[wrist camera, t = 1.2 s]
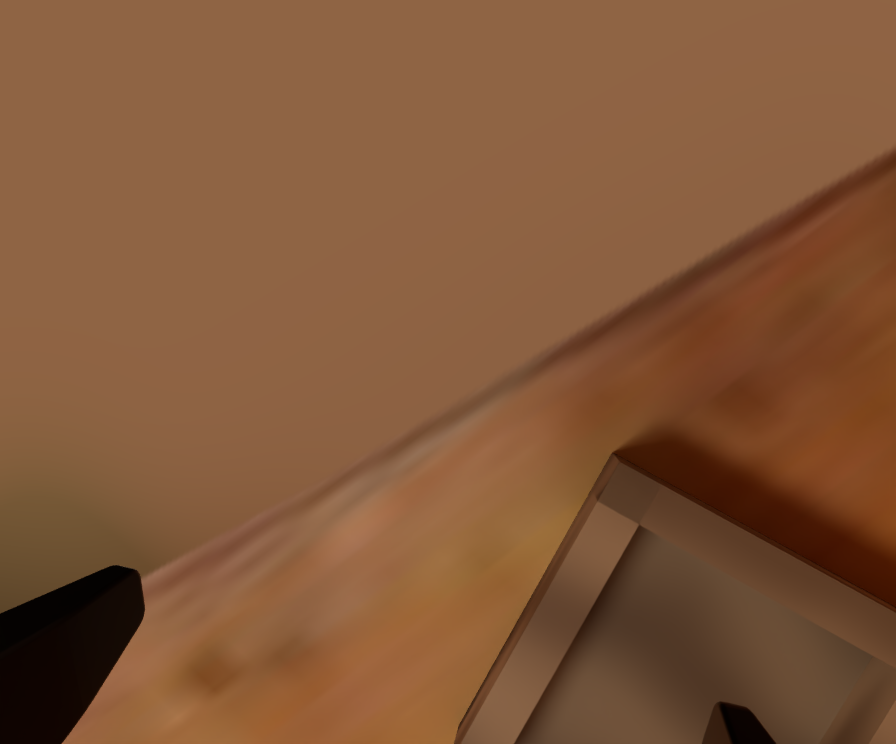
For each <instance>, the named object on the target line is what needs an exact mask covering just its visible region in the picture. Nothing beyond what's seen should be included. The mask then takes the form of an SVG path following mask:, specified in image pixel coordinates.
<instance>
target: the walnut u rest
mask: <svg viewBox="0 0 896 744" xmlns="http://www.w3.org/2000/svg"><path fill="white" fill-rule="evenodd" d="M719 701H723V702H728V703H732V704H737V705H741V706H745V707H747V708H748V709H750V710H751V711H752V712H753V713H754V715H755V716H756V717H757V719H758V720H759V721H760V723H761V724H762V725H763V726H764V728H765V729H766V730H767V732H768V733H769V734H770V736H771V737H772V738H773V740H774V741H775V742H776V743H777V744H896V607H894V606H893V605H891V604H889V603H887V602H885V601H883V600H882V599H880V598H878V597H876V596H874V595H872V594H871V593H869V592H867V591H865V590H863V589H861V588H860V587H858V586H856V585H854V584H852V583H850V582H849V581H847V580H845V579H843V578H841V577H839V576H838V575H836V574H834V573H832V572H830V571H828V570H827V569H825V568H823V567H821V566H819V565H817V564H816V563H814V562H812V561H810V560H808V559H806V558H805V557H803V556H801V555H799V554H797V553H795V552H794V551H792V550H790V549H788V548H786V547H784V546H783V545H781V544H779V543H777V542H775V541H773V540H772V539H770V538H768V537H766V536H764V535H762V534H761V533H759V532H757V531H755V530H753V529H751V528H750V527H748V526H746V525H744V524H742V523H740V522H739V521H737V520H735V519H733V518H731V517H729V516H728V515H726V514H724V513H722V512H720V511H718V510H717V509H715V508H713V507H711V506H709V505H707V504H706V503H704V502H702V501H700V500H698V499H696V498H695V497H693V496H691V495H689V494H687V493H686V492H684V491H682V490H680V489H678V488H676V487H675V486H673V485H671V484H669V483H667V482H665V481H664V480H662V479H660V478H658V477H656V476H654V475H653V474H651V473H649V472H647V471H645V470H643V469H642V468H640V467H638V466H636V465H634V464H632V463H631V462H629V461H627V460H625V459H623V458H621V457H620V456H618V455H616V454H614V453H612V454H611V456H610V457H609V459H608V461H607V463H606V464H605V466H604V468H603V470H602V472H601V473H600V475H599V477H598V479H597V481H596V482H595V484H594V486H593V488H592V489H591V491H590V493H589V495H588V497H587V498H586V500H585V502H584V504H583V505H582V507H581V509H580V511H579V513H578V514H577V516H576V518H575V520H574V521H573V523H572V525H571V527H570V529H569V530H568V532H567V534H566V536H565V537H564V539H563V541H562V543H561V545H560V546H559V548H558V550H557V552H556V553H555V555H554V557H553V559H552V561H551V562H550V564H549V566H548V568H547V569H546V571H545V573H544V575H543V577H542V578H541V580H540V582H539V584H538V585H537V587H536V589H535V591H534V593H533V594H532V596H531V598H530V600H529V601H528V603H527V605H526V607H525V609H524V610H523V612H522V614H521V616H520V617H519V619H518V621H517V623H516V625H515V626H514V628H513V630H512V632H511V633H510V635H509V637H508V639H507V641H506V642H505V644H504V646H503V648H502V649H501V651H500V653H499V655H498V657H497V658H496V660H495V662H494V664H493V665H492V667H491V669H490V671H489V673H488V674H487V676H486V678H485V680H484V682H483V683H482V685H481V687H480V689H479V690H478V692H477V694H476V696H475V698H474V699H473V701H472V703H471V705H470V706H469V708H468V710H467V712H466V714H465V715H464V717H463V719H462V721H461V722H460V724H459V727H458V731H457V734H456V738H455V742H454V744H702V741H703V737H704V734H705V731H706V728H707V725H708V722H709V719H710V716H711V713H712V710H713V707H714V705H715V704H716V703H717V702H719Z"/></svg>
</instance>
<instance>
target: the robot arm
mask: <svg viewBox="0 0 896 744" xmlns="http://www.w3.org/2000/svg"><path fill="white" fill-rule="evenodd" d="M144 612H145V604H144V597H143V590H142V583H141V577H140V574H139V572H138V571H137V570H135V569H131V568H127V567H123V566H118V565H113V566H109V567H107V568H105V569H102V570H100V571H98V572H95V573H93V574H91V575H88V576H86V577H84V578H81V579H79V580H77V581H75V582H72V583H70V584H67V585H65V586H63V587H60V588H58V589H56V590H54V591H51V592H49V593H47V594H45V595H42V596H40V597H37V598H35V599H33V600H30V601H28V602H26V603H24V604H21V605H19V606H17V607H14V608H12V609H10V610H7V611H5V612H3V613H1V614H0V744H62V743H63V741H64V740H65V739H66V737H67V736H68V735H69V733H70V732H71V731H72V729H73V728H74V727H75V725H76V724H77V722H78V721H79V720H80V718H81V717H82V716H83V714H84V713H85V711H86V710H87V708H88V707H89V705H90V704H91V702H92V701H93V699H94V698H95V696H96V695H97V693H98V691H99V690H100V688H101V687H102V685H103V683H104V682H105V680H106V679H107V677H108V675H109V674H110V672H111V671H112V669H113V667H114V666H115V664H116V663H117V661H118V659H119V658H120V656H121V655H122V653H123V651H124V650H125V648H126V647H127V645H128V643H129V642H130V640H131V639H132V637H133V635H134V634H135V632H136V631H137V629H138V627H139V626H140V624H141V622H142V620H143V617H144ZM702 744H777V743H776V742H775V741H774V740H773V738H772V737H771V736H770V734H769V733H768V732H767V730H766V729H765V728H764V726H763V725H762V724H761V723H760V721H759V720H758V719H757V717H756V716H755V715H754V713H753V712H752V711H751V710H750V709H748V708H747V707H745V706H741V705H737V704H732V703H728V702H723V701H719V702H717V703H716V704H715V705H714V707H713V710H712V713H711V716H710V719H709V722H708V725H707V728H706V731H705V734H704V737H703V741H702Z"/></svg>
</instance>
